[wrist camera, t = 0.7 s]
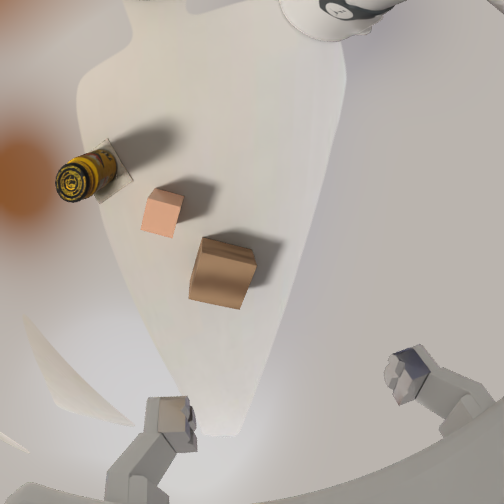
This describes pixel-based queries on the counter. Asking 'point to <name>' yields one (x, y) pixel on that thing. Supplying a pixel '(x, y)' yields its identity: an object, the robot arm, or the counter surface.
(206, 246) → the walnut box
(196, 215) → the counter surface
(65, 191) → the condiment
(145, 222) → the terracotta cube
